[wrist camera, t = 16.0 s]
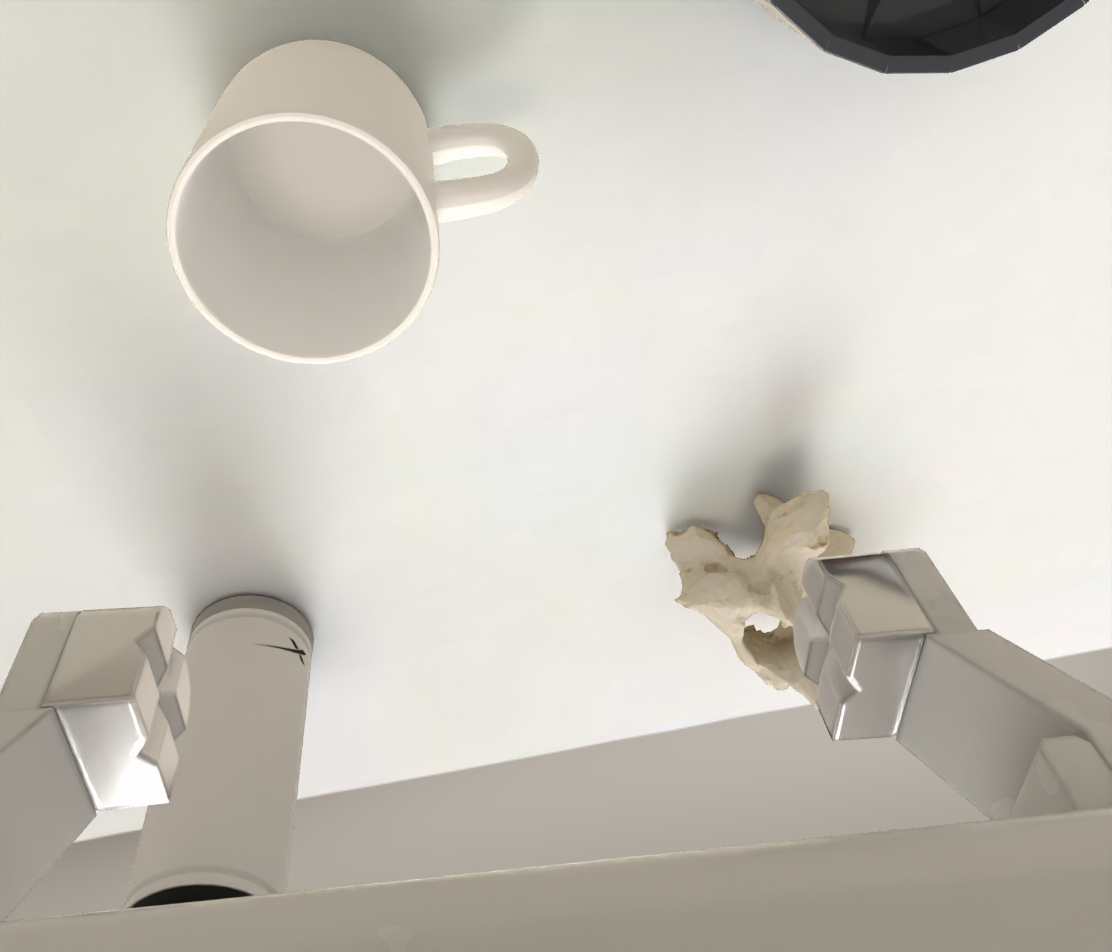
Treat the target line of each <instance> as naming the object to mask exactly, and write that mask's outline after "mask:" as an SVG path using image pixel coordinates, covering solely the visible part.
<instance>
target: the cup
mask: <svg viewBox="0 0 1112 952" xmlns="http://www.w3.org/2000/svg"><path fill="white" fill-rule="evenodd" d="M479 156H499V157H504V158H506V159H507V160H508V164H507V166H506V167H505V168H504V169H502V170H500V171H498V172H496V173H493V174H489V175H484V176H479V177H472V178H464V179H456V180H447V181H437V182H435V171H434V166H435V165H437V164H441V163H446V162H450V161H455V160H460V159H465V158H471V157H479ZM538 163H539V159H538V154H537V151H536V148H535V146H534V144H533V143H532V141H531V140H530V139H529V138H528V137H527V136H526V135H525V134H523V133H522V132H520V131H518V130H516V129H513V128H511V127H508V126H503V125H498V124H481V123H480V124H461V125H451V126H442V127H434V128H428V125H427V122H426V120H425V117H424V115H423V113H422V110H421V108H420V106H419V104H418V102H417V101H416V99H415V97H414V95H413V94H412V92H411V91H410V90H409V88H408V87H407V86H406V84H405V83H404V82H403V81H402V80H401V79H400V77H399V76H398V75H397V74H396V73H394V72H393V71H392V70H391V69H390V68H389V67H388V66H386V65H385V64H384V63H383V62H381V61H380V60H378V59H377V58H375V57H373V56H372V55H370V54H368V53H366V52H364V51H362V50H360V49H357V48H355V47H352V46H350V45H346V44H343V43H339V42H334V41H327V40H301V41H294V42H290V43H286V44H283V45H280V46H277V47H274V48H272V49H270V50H268V51H266V52H264V53H262V54H261V55H259V56H257V57H256V58H254V59H253V60H252V61H250V62H249V63H248V64H246V65H245V66H244V67H243V68H242V69H241V70H240V71H239V72H238V73H237V75H236V76H235V77H234V78H233V80H232V81H231V82H230V83H229V85H228V86H227V88H226V90H225V91H224V93H223V94H222V96H221V98H220V100H219V101H218V103H217V105H216V107H215V109H214V111H213V112H212V114H211V116H210V118H209V120H208V122H207V123H206V125H205V127H204V129H203V131H202V133H201V135H200V136H199V138H198V140H197V142H196V144H195V146H194V147H193V149H192V151H191V153H190V155H189V157H188V158H187V160H186V162H185V164H184V166H183V168H182V169H181V171H180V173H179V175H178V177H177V179H176V182H175V184H174V187H173V190H172V193H171V196H170V200H169V205H168V211H167V241H168V248H169V252H170V257H171V260H172V263H173V266H174V269H175V272H176V274H177V276H178V279H179V281H180V283H181V285H182V286H183V288H184V290H185V292H186V293H187V295H188V296H189V298H190V299H191V301H192V302H193V304H194V305H195V306H196V307H197V308H198V310H199V311H200V312H201V313H202V314H203V315H204V316H205V317H206V318H207V319H208V320H209V321H210V322H211V323H212V324H213V325H214V326H215V327H216V328H218V329H219V330H220V331H221V332H223V333H224V334H225V335H227V336H228V337H230V338H231V339H233V340H234V341H236V342H238V343H239V344H241V345H243V346H245V347H247V348H249V349H251V350H253V351H255V352H258V353H260V354H263V355H266V356H269V357H272V358H275V359H279V360H284V361H288V362H295V363H303V364H326V363H335V362H341V361H346V360H350V359H354V358H357V357H360V356H363V355H366V354H368V353H370V352H373V351H375V350H377V349H379V348H381V347H382V346H384V345H386V344H387V343H389V342H390V341H392V340H393V339H395V338H396V337H397V336H398V335H400V334H401V333H402V332H403V331H404V330H405V329H406V328H407V327H408V326H409V325H410V324H411V323H412V322H413V321H414V319H415V318H416V317H417V316H418V314H419V313H420V311H421V310H422V308H423V307H424V305H425V304H426V302H427V300H428V298H429V296H430V294H431V291H432V288H433V286H434V283H435V279H436V276H437V272H438V265H439V255H440V242H439V228H438V224H439V223H442V222H448V221H454V220H460V219H466V218H471V217H476V216H481V215H485V214H489V213H492V212H496V211H498V210H501V209H504V208H506V207H508V206H510V205H512V204H514V203H515V202H517V201H518V200H519V199H520V198H522V197H523V196H524V195H525V194H526V193H527V192H528V191H529V190H530V189H531V187H532V185H533V183H534V181H535V179H536V176H537V173H538Z"/></svg>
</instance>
